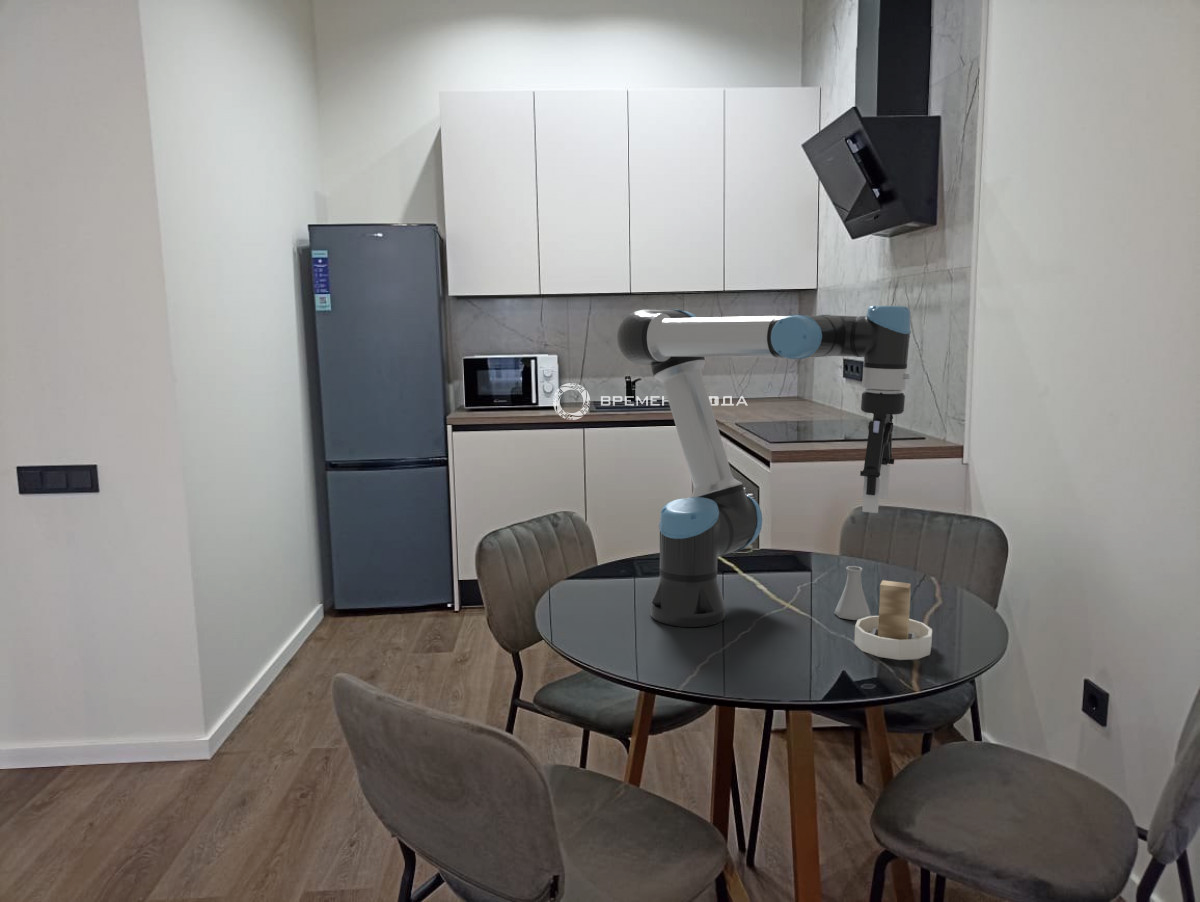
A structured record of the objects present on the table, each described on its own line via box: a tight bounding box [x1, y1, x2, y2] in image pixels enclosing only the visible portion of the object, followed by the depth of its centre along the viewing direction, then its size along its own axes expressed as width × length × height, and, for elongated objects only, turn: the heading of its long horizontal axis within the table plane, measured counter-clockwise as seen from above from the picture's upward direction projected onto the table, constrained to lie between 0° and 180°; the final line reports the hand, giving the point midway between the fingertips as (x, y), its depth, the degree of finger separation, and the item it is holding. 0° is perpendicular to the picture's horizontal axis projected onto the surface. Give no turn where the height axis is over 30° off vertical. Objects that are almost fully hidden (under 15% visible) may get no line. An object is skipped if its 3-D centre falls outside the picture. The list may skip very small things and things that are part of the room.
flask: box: [834, 565, 872, 621], centre depth 176 cm, size 7×7×10 cm
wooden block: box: [878, 579, 912, 640], centre depth 159 cm, size 5×3×11 cm, turn 65°
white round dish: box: [853, 615, 933, 661], centre depth 160 cm, size 13×13×4 cm
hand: (875, 504), depth 162 cm, fingers open, 13 cm apart
